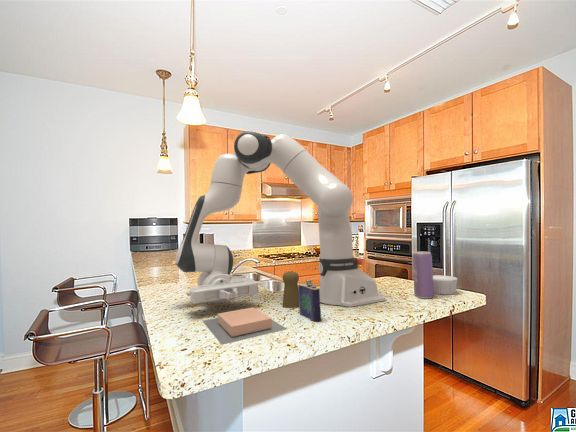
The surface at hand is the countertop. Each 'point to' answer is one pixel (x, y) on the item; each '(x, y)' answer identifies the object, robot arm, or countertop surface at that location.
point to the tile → (244, 321)
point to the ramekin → (444, 284)
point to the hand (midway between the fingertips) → (232, 295)
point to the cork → (291, 290)
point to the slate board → (227, 338)
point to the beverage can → (423, 275)
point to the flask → (309, 301)
